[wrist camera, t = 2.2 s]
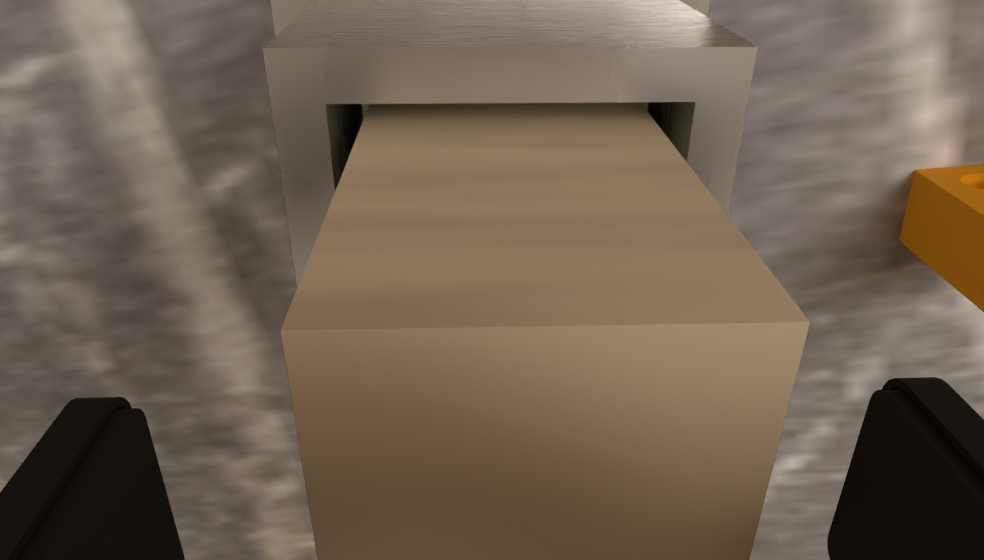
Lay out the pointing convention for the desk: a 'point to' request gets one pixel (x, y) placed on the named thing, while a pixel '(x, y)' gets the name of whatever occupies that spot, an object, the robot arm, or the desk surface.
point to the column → (534, 344)
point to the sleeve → (495, 77)
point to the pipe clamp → (949, 226)
